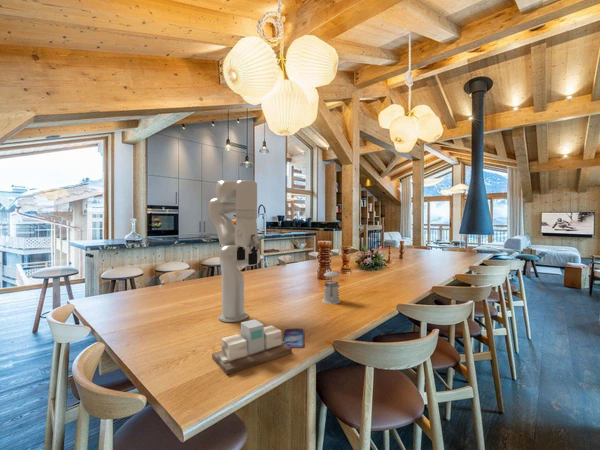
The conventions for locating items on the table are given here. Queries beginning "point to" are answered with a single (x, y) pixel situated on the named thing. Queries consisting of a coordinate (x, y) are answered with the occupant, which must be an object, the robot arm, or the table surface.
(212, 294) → the table surface
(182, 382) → the table surface
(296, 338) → the smartphone
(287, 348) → the rail board
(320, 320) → the table surface
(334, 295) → the french press
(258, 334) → the module block
